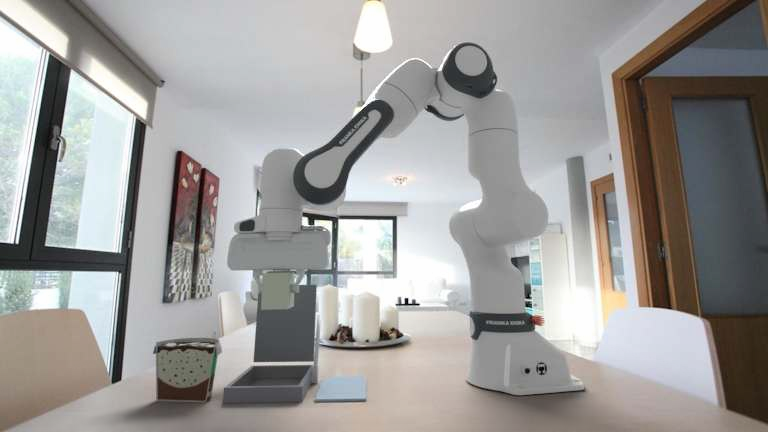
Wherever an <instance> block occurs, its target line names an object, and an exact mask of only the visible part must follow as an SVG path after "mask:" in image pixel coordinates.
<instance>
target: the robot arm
mask: <svg viewBox="0 0 768 432" xmlns="http://www.w3.org/2000/svg"><path fill="white" fill-rule="evenodd" d="M497 83H498V76H497V74H496V72H495V71H494V67H493V62H492V60H491V57H490V54H488V52H487V50H486V49H484V48H483V47H482V46H481V45H480V44H477V43H474V42H470V41H469V42H462V43H459V44H457V45H455V46H454V47H452V49H450V50H449V52H447V54H446V55H445V57H444V58H443V61H442V63H441V65H440V67H437V68H436V67H432V66H431V65H430V64H429V63H427V62H426V61H424V60H422V59H421V58H410V59H408V60H406V61H404V62H403V63H402V64H400V65H399V66H397V68H395V69H394V70H393V71H391V73H389V74H388V75H387V76H386V78H384V79H383V80H382V82H380V84H379V85H378V86H377V87H376V88H375V89H374V91H373V92H372V93H371V94H370V96H369V97H368V99H367V100H366V101H365V102H364V104H363V105H362V107H361V109H360V110H359V111H358V112H357V113H356V114H355V115H354V116H353V117H352V118H351V119H350V120H349V121H348V122H347V123H346V125H345V126H343V127H342V128H341V130H340V131H338V133H336V135H335V136H333V137H332V138H331V140H329V141H328V142H327V143H326V144H324V145H322V146H321V147H319V148H317V149H314V150H311V151H310V152H308V153H306V154H305V155H304V154H303V153H301V151H299V150H298V149H296V148H290V147H282V148H277V149H274V150H272V151H270V152H268V153H267V154H266V155H265V156H264V159H263V161H262V165H261V171H260V179H259V181H260V182H259V193H260V196H261V197H260V198H261V202H260V206H259V208H258V215H255V216H253V217H249V218H246V219H243V220H239V221H236V222H235V223H234V225H233V230H234V232H235V233H236V234H234V235H233V236H232V238H231V239H230V242H229V246H228V252H227V262H226V264H227V265H226V266H227V267H228V268H229V269H230V270H231V271H235V272H237V271H252V277H253V279H254V280H255V282H256V284H257V294H258V293H262V273H264V271H296V273H295V275H296V276H298V277H297V279H296V280H295V284H291V285H290V288H291V289H290V292H291V293H299V285H301V282H302V281H303V279H304V277H305V276H306V270H307V271H308V270H311V271H312V270H313V271H315V270H319V271H321V270H323V271H324V270H326V269H328V267H329V266H330V255H329V254H330V253H329V247H328V246H329V245H330V243H331V235H332V234H331V231H330V230H329V229H328V228H327V227H324V225H321V224H319V225H306V224H304V225H303V209H304V208H305V209H308V210H314V211H318V212H323V213H324V212H331V211H333V210H336V209H337V208H338V207H340V206H341V204H342V203H344V201H345V198H346V194H347V183H348V179H349V177H350V176H349V175H350V173H351V170H352V169H353V166H354V165H355V164H357V162H358V161H359V159H361V157H362V156H364V154H365V153H366V152H367V151H368V150H369V149H370V147H372V145H373V144H374V143H375V142H376V141H377V140H378V139H381V138H384V139H392V138H397V137H398V136H400V135H401V133H403V132H404V131H405V130H406V129H407V128H408V127H409V126H410V125H411V124H412V123H413V122H414V121H415V120H416V119H417V117H418V116H419V115H420V114H421V112H423V110H425V111H426V112H427V113H430V114H432V115H434V116H435V117H436V118H438V119H439V120H441V121H442V120H443V121H446V122H453V121H457V120H459V119H460V118H462V117H463V116H465V119H466V121H467V125H468V131H467V132H468V133H467V134H468V135H467V136H468V137H467V139H468V140H467V142H468V143H467V144H468V147H467V150H468V151H467V152H468V153H467V155H468V156H467V157H468V158H467V160H468V161H467V163H468V164H467V165H468V167H467V169H468V172H469V174H470V175H471V177H473V178H474V179H476V180H477V181H478V182H479V184H480V187H481V192H482V199H478V200H475V201H471V202H468V203H466V204H464V205H463V206H461V207H460V208H458V209H457V210H455V212H453V213H452V215H451V216H450V219H449V223H448V224H449V226H448V228H449V229H448V230H449V233H450V235H451V237H452V239H453V240H454V242H455V243H457V244H458V246H459V247H460V249H461V251H462V254H463V257H464V259H465V263H466V267H467V269H468V274H469V283H470V284H469V287H470V303H471V310H470V311H469V321H468V322H469V323H468V325H469V335H470V339H471V343H470V344H471V346H470V357H469V364H468V368H467V374H466V376H465V377H466V378H465V379H466V381H467V383H469V384H471V385H473V386H476V387H479V388H483V389H488V390H493V391H497V392H498V391H499V392H504V393H506V394H510V395H512V396H513V395H514V396H526V395H535V394H536V395H537V394H538V395H539V394H550V393H551V394H552V393H563V392H573V391H582V390H584V389H585V387H584V382H583V381H582V380H581V379H580V378H578V377H576V376H575V375H573V374H571V371H570V367H569V366H570V365H569V363H568V360H567V358H566V355H565V353H564V352H563V351H562V350H561V349H560V348H558V347H557V346H556V345H555V344H553V343H552V342H551V341H549V340H548V339H547V338H545V336H543V335H541V334H540V333H539V332H538V331H536V326H538V327H541V326H542V327H543V326H544V324H545V318H544V317H543V316H542V315H538V314H534V315H533V314H531V313H529V312H527V311H526V310H527V309H526V295H525V291H526V290H525V279H524V275H523V273H522V272H521V270H520V269H519V268H517V267H516V266H515V265H514V264H513V263H512V261H511V260H510V257H509V254H508V252H507V250H506V249H507V248H506V246H511V245H520V244H523V243H527V242H529V241H531V240H533V239H535V238H538V237H540V236H542V234H544V232H545V231H546V229H547V227H548V223H549V211H548V207H547V205H546V203H545V201H544V200H543V198H542V197H541V196H540V195H539V194H537V193H536V192H534V191H533V190H532V189H531V188H530V187H529V185H528V184H527V183H526V181H525V178H524V176H523V173H522V171H521V170H522V168H521V164H520V149H519V148H520V147H519V126H518V119H517V117H518V116H517V113H516V107H515V104H514V100H513V98H512V96H511V95H510V94H509V93H508V92H506V91H505V90H500V89H496V88H495V87H496V86H497Z"/></svg>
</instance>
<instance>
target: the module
mask: <svg viewBox="0 0 768 432" xmlns="http://www.w3.org/2000/svg"><path fill="white" fill-rule="evenodd" d="M291 271H292V270H266V272H263V273H262V276H261V280H262V297H261V310H271V309H289V308H291V307H293V306H294V293H291V292H290V289H291V288H290V285H291V284H295V282H296V280H295V279H296V278H295V277H296V276H295V275H296V273H295V272H291Z"/></svg>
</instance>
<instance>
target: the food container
mask: <svg viewBox="0 0 768 432" xmlns="http://www.w3.org/2000/svg"><path fill="white" fill-rule="evenodd" d="M220 341H221V340H219V339H218V338H214V337H212V338H211V337H184V338H183V337H182V338H172V339H167V340H165V339H164V340H160V341H156V342H155V345H154V348H153V350H152V351H153V352H152V354H153V355H155V378H156V380H155V385H156V386H155V387H156V388H155V391H156V395H155V397H156V398H155V399H156V400H155V402H176V403H177V402H179V403H183V402H184V403H208V402H209V401H211V399H212V393H213V389H214V388H213V387H214V381H215V375H216V369H217V362H218V356H219V355H221V354H222V353H223V350H222V349H223V348H222V344H221V343H220Z"/></svg>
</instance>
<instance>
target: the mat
mask: <svg viewBox="0 0 768 432" xmlns="http://www.w3.org/2000/svg"><path fill="white" fill-rule="evenodd" d="M366 401H367V376H366V375H365V376H324V377H323V378H322V380H321V382H320V385H319V388H318V390H317V393H316V394H315V398H314V403H316V402H317V403H318V402H319V403H321V402H323V403H325V402H328V403H329V402H366Z"/></svg>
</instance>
